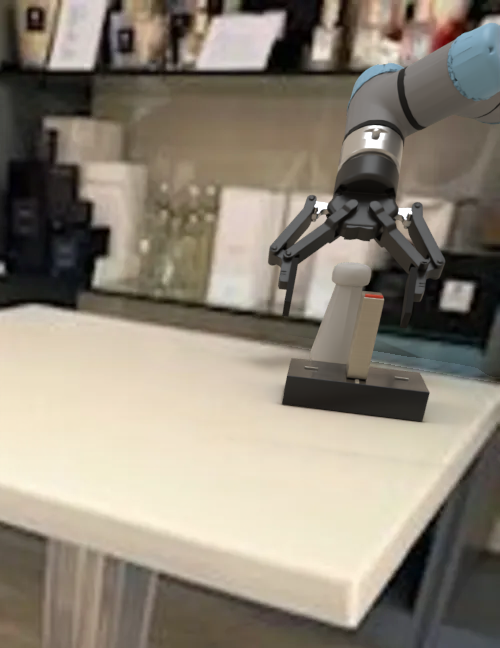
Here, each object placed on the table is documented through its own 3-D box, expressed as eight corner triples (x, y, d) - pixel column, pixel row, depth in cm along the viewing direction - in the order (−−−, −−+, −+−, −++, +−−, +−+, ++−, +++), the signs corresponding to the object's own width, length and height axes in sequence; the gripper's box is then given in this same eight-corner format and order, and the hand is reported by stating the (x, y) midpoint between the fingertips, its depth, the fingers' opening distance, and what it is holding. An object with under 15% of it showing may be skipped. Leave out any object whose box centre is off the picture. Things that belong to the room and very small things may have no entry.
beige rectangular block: (345, 366, 96) (362, 288, 93) (364, 369, 96) (382, 290, 92) (346, 377, 91) (364, 294, 87) (366, 380, 90) (385, 296, 87)
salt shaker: (316, 379, 104) (339, 264, 99) (299, 369, 110) (320, 259, 104) (363, 381, 105) (388, 266, 99) (344, 371, 110) (366, 262, 105)
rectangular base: (413, 399, 98) (420, 370, 96) (422, 421, 88) (430, 390, 87) (286, 384, 101) (291, 356, 100) (281, 404, 91) (287, 373, 90)
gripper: (269, 145, 109) (240, 283, 102) (483, 157, 103) (467, 303, 97) (264, 192, 116) (237, 324, 109) (465, 205, 110) (448, 345, 104)
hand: (345, 315), depth 103 cm, fingers open, 13 cm apart
